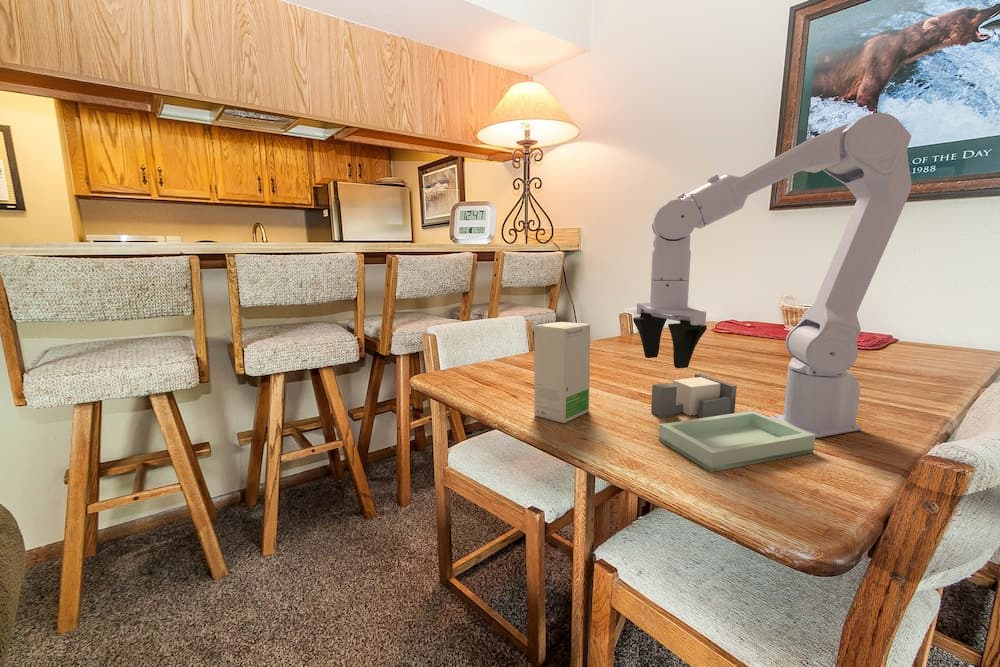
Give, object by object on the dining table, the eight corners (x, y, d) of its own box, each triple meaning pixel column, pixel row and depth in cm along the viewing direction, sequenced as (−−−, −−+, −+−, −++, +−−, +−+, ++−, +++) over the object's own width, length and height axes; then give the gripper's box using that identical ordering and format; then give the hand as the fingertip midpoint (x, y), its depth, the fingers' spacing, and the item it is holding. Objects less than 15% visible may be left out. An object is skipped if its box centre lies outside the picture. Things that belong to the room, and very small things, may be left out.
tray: (751, 425, 68) (752, 410, 67) (813, 452, 58) (815, 434, 58) (659, 440, 63) (659, 424, 63) (710, 472, 54) (712, 453, 53)
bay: (697, 399, 81) (699, 373, 80) (734, 414, 73) (736, 385, 72) (668, 403, 79) (669, 376, 78) (702, 419, 71) (704, 389, 70)
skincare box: (563, 425, 69) (564, 329, 67) (531, 415, 74) (530, 325, 71) (590, 411, 76) (592, 322, 73) (559, 403, 80) (560, 319, 77)
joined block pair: (699, 403, 79) (701, 377, 78) (718, 411, 74) (720, 383, 73) (647, 410, 75) (648, 382, 75) (664, 419, 71) (665, 390, 70)
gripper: (622, 278, 76) (620, 355, 78) (680, 282, 62) (674, 375, 64) (657, 277, 78) (653, 352, 80) (720, 281, 64) (713, 370, 66)
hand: (665, 362), depth 72 cm, fingers open, 7 cm apart
